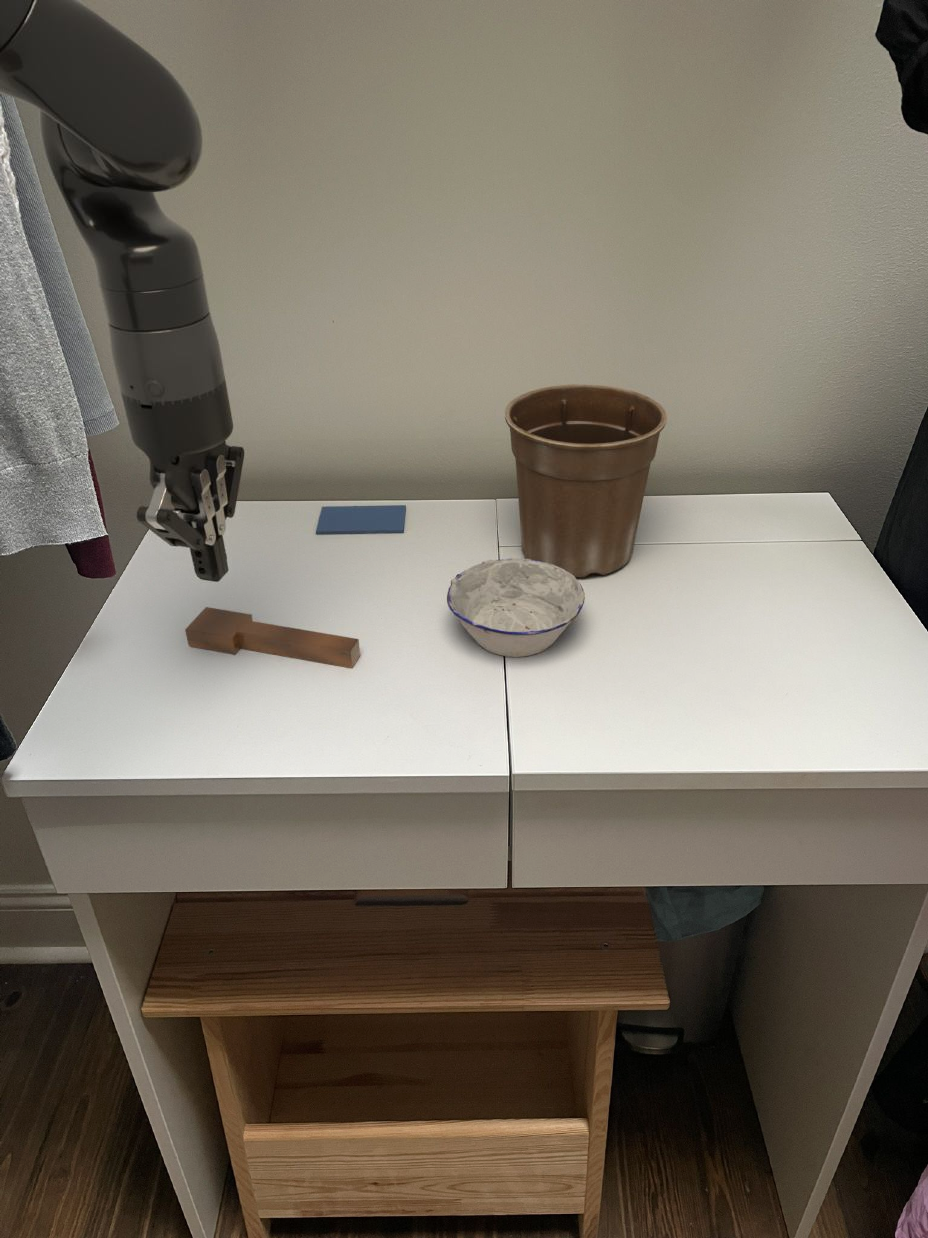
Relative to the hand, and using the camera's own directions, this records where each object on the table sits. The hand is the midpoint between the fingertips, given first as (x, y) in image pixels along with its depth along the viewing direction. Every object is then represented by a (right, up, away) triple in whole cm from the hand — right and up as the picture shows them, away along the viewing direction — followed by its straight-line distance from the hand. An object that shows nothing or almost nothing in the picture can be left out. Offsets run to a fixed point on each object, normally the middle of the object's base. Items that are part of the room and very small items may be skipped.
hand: (213, 576), depth 79 cm
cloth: (+9, +8, +31) cm, 33 cm away
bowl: (+26, -5, +12) cm, 29 cm away
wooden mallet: (+3, -6, +11) cm, 13 cm away
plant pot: (+34, +4, +25) cm, 42 cm away
